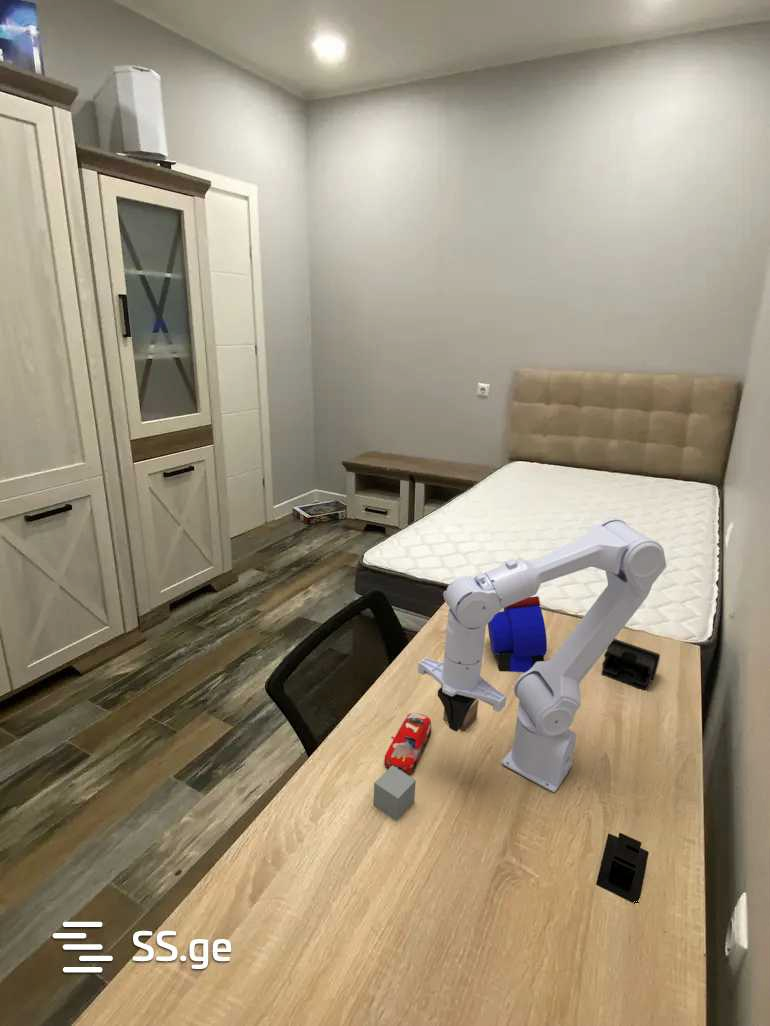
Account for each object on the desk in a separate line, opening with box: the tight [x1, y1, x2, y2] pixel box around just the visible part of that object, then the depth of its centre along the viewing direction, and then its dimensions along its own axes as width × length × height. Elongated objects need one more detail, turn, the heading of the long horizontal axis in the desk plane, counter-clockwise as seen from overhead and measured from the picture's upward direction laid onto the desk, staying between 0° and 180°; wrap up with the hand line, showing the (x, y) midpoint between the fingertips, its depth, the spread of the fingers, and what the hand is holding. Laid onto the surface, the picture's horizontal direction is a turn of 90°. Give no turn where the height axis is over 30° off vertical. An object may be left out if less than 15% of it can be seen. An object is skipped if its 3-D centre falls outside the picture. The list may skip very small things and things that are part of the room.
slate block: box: [372, 765, 417, 822], centre depth 86 cm, size 4×4×4 cm
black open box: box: [595, 832, 650, 905], centre depth 78 cm, size 12×7×5 cm, turn 149°
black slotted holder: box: [601, 638, 661, 692], centre depth 120 cm, size 10×7×7 cm
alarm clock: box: [487, 595, 548, 673], centre depth 123 cm, size 12×12×15 cm
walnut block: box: [442, 699, 480, 733], centre depth 105 cm, size 4×4×4 cm
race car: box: [384, 712, 432, 775], centre depth 97 cm, size 13×5×4 cm, turn 157°
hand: (455, 726), depth 90 cm, fingers closed
